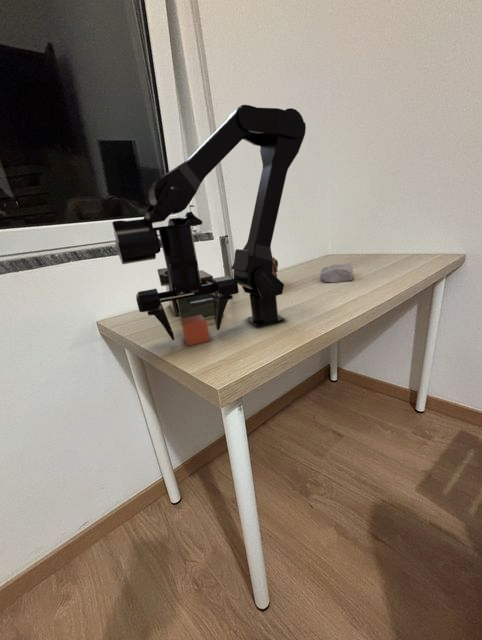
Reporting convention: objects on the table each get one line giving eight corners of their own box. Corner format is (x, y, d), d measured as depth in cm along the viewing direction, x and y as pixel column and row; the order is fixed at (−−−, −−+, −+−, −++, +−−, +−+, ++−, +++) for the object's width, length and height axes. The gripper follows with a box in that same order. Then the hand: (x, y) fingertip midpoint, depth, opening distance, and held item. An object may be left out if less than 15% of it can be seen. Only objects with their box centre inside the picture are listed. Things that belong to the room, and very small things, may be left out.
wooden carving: (282, 292, 91) (280, 257, 87) (267, 293, 91) (264, 259, 87) (277, 281, 106) (275, 251, 102) (264, 283, 106) (261, 253, 102)
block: (209, 340, 61) (205, 319, 59) (187, 345, 60) (183, 324, 58) (205, 334, 65) (201, 314, 63) (184, 338, 64) (180, 318, 62)
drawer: (228, 316, 71) (224, 288, 69) (184, 326, 69) (178, 296, 66) (212, 302, 86) (208, 277, 84) (175, 309, 84) (169, 284, 81)
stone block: (322, 288, 96) (355, 279, 93) (319, 273, 94) (352, 264, 91) (322, 282, 106) (351, 273, 103) (318, 268, 105) (349, 259, 102)
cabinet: (217, 307, 84) (212, 275, 80) (175, 316, 81) (168, 283, 77) (207, 298, 96) (202, 270, 92) (169, 305, 93) (163, 276, 89)
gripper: (218, 245, 65) (228, 315, 71) (127, 259, 61) (147, 333, 67) (233, 248, 56) (244, 329, 62) (126, 265, 51) (149, 350, 57)
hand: (196, 334), depth 62 cm, fingers open, 9 cm apart
